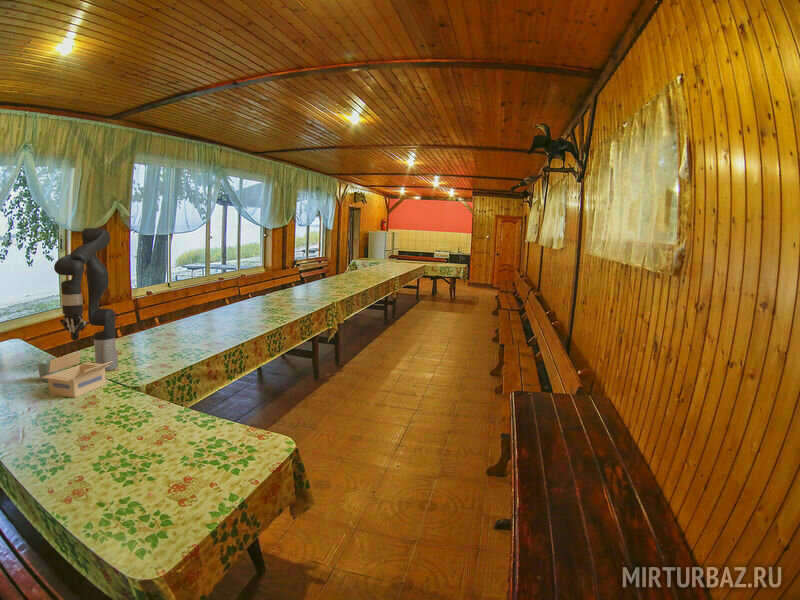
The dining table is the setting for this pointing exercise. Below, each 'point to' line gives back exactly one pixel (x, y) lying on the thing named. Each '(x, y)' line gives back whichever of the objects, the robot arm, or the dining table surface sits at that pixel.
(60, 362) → the flap
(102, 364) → the flap
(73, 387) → the carton
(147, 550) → the dining table surface
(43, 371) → the cup
